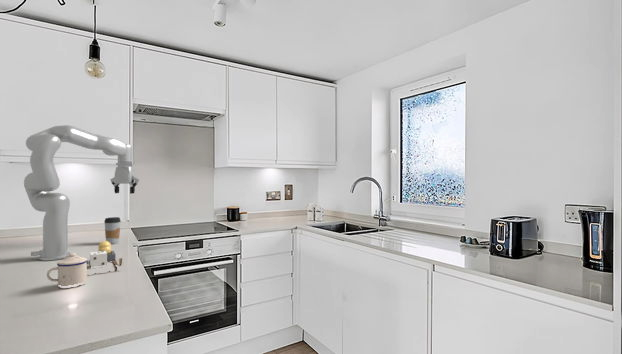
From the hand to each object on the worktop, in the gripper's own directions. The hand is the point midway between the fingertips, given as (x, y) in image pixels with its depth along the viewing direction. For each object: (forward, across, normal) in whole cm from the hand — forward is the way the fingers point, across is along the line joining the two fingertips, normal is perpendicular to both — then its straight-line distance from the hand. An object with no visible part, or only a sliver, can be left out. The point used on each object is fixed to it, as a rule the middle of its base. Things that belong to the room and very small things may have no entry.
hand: (124, 193), depth 197 cm
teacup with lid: (+30, +29, -74) cm, 85 cm away
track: (+30, +24, -52) cm, 64 cm away
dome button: (+27, +18, -40) cm, 51 cm away
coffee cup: (+30, -5, -4) cm, 30 cm away
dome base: (+30, +18, -40) cm, 53 cm away
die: (+30, +21, -49) cm, 61 cm away
